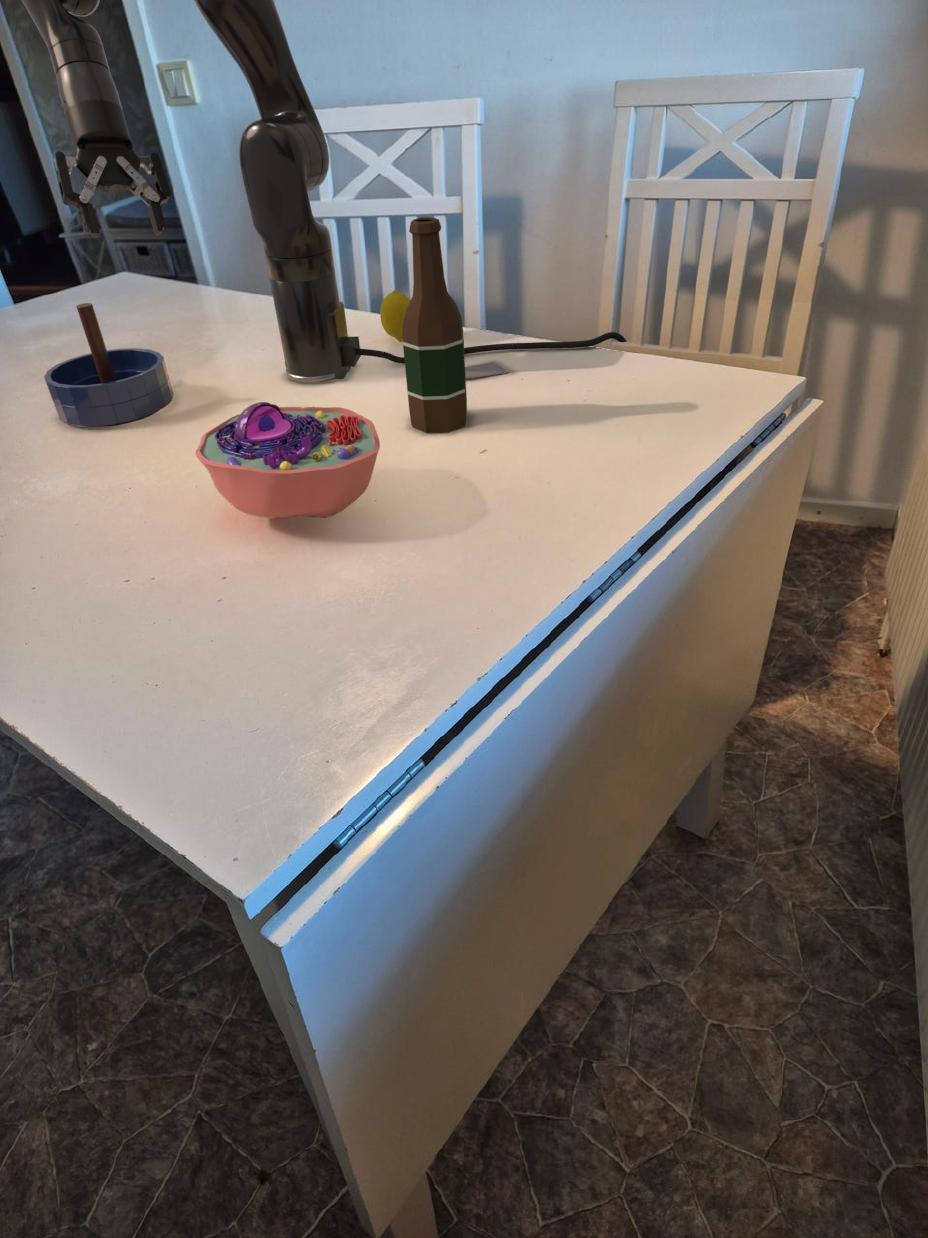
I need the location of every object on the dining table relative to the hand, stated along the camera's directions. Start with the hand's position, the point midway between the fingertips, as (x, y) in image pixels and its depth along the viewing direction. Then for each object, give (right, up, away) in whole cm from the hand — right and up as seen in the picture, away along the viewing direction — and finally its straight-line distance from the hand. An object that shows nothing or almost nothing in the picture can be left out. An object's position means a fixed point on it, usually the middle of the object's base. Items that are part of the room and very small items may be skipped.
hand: (128, 234), depth 113 cm
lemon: (+36, -8, +20) cm, 42 cm away
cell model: (+30, -42, -25) cm, 57 cm away
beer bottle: (+44, -29, -8) cm, 53 cm away
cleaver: (+47, -18, +5) cm, 50 cm away
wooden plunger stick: (-2, -23, +1) cm, 24 cm away
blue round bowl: (-2, -24, +2) cm, 24 cm away
